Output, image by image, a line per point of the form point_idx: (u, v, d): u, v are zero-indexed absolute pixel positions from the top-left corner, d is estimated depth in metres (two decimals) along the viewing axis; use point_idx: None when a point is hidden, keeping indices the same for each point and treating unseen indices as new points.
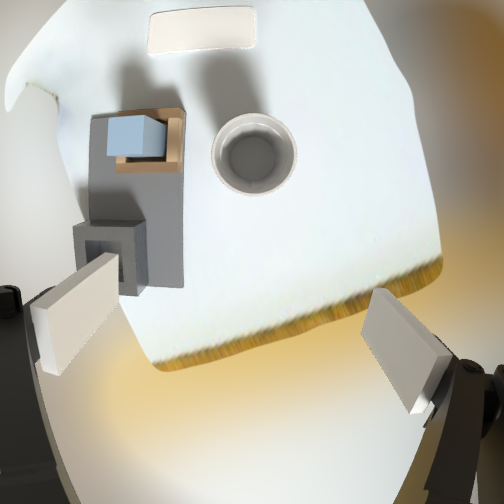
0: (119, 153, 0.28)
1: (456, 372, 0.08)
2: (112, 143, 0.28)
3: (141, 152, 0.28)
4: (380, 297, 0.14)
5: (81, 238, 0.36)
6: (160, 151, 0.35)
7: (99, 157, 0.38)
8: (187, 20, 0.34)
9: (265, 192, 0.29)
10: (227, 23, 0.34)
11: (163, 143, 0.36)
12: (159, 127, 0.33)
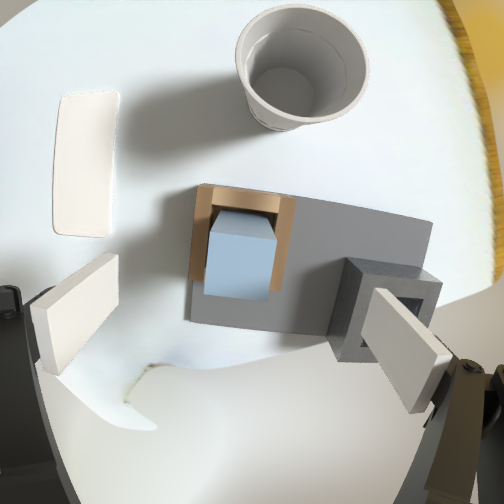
0: (268, 280, 0.19)
1: (456, 372, 0.08)
2: (248, 290, 0.19)
3: (274, 241, 0.19)
4: (380, 297, 0.14)
5: (356, 351, 0.27)
6: (262, 220, 0.25)
7: (247, 313, 0.31)
8: (68, 181, 0.28)
9: (364, 55, 0.15)
10: (80, 127, 0.26)
11: (248, 215, 0.26)
12: (225, 217, 0.24)
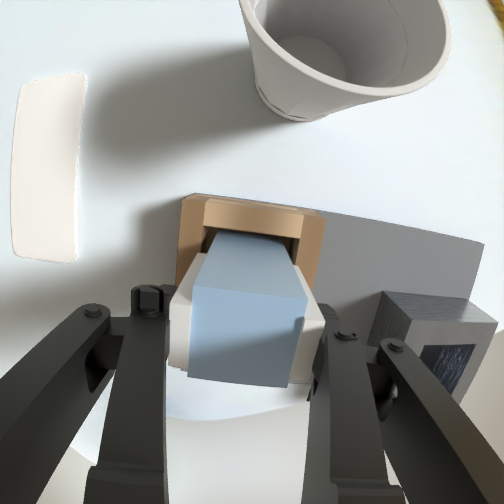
0: (290, 358, 0.11)
1: (328, 343, 0.09)
2: (258, 373, 0.12)
3: (303, 301, 0.11)
4: None
5: None
6: (277, 249, 0.17)
7: None
8: (26, 191, 0.20)
9: (440, 5, 0.07)
10: (39, 122, 0.19)
11: (256, 241, 0.18)
12: (222, 246, 0.16)
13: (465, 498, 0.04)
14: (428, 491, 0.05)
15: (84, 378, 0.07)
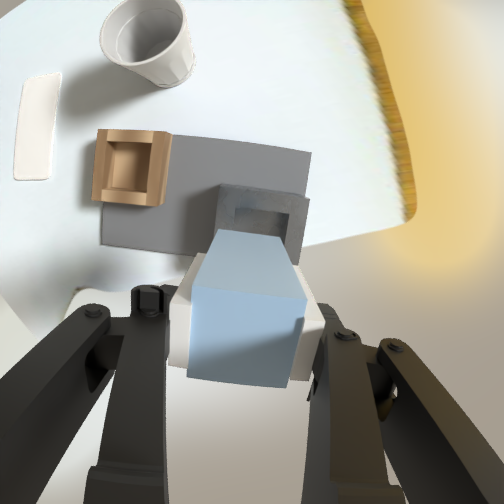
0: (289, 359, 0.11)
1: (328, 343, 0.09)
2: (257, 374, 0.12)
3: (302, 301, 0.11)
4: None
5: None
6: (277, 249, 0.17)
7: (144, 235, 0.36)
8: (25, 140, 0.32)
9: (183, 13, 0.20)
10: (35, 100, 0.31)
11: (255, 241, 0.18)
12: (222, 246, 0.16)
13: (465, 498, 0.04)
14: (428, 491, 0.05)
15: (84, 378, 0.07)
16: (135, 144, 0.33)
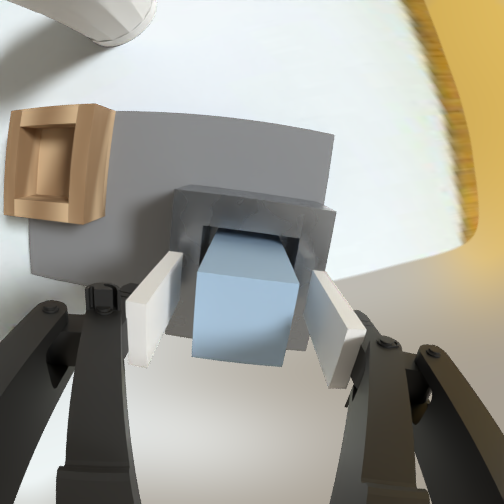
0: (284, 338, 0.13)
1: (370, 350, 0.09)
2: (256, 353, 0.13)
3: (295, 285, 0.12)
4: (315, 279, 0.16)
5: (190, 320, 0.19)
6: (273, 242, 0.18)
7: (80, 264, 0.23)
8: None
9: None
10: None
11: (254, 235, 0.20)
12: (223, 239, 0.18)
13: (485, 500, 0.03)
14: (452, 493, 0.05)
15: (46, 373, 0.07)
16: (64, 129, 0.19)
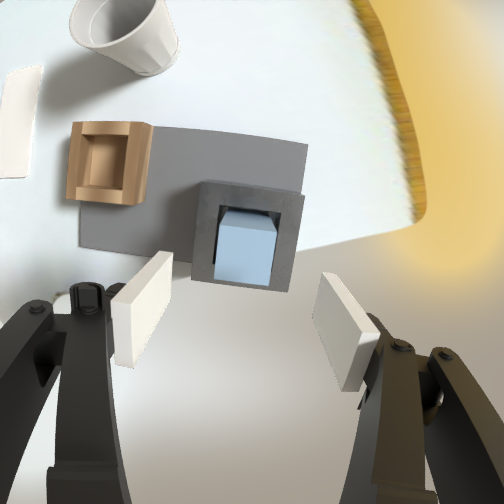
0: (269, 266, 0.22)
1: (384, 353, 0.09)
2: (252, 275, 0.23)
3: (274, 233, 0.22)
4: (325, 281, 0.16)
5: (209, 269, 0.28)
6: (265, 216, 0.28)
7: (123, 237, 0.32)
8: (5, 136, 0.29)
9: None
10: (16, 94, 0.28)
11: (252, 213, 0.29)
12: (232, 213, 0.27)
13: (492, 501, 0.03)
14: (459, 494, 0.05)
15: (34, 372, 0.07)
16: (113, 137, 0.29)
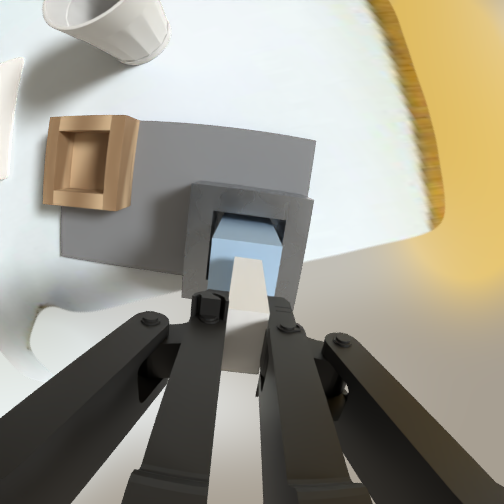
0: (273, 287, 0.18)
1: (271, 337, 0.09)
2: None
3: (279, 247, 0.18)
4: (247, 266, 0.16)
5: (202, 285, 0.24)
6: (266, 224, 0.24)
7: (107, 246, 0.28)
8: None
9: None
10: None
11: (252, 219, 0.25)
12: (228, 221, 0.23)
13: (437, 499, 0.04)
14: (395, 492, 0.05)
15: (135, 387, 0.08)
16: (95, 134, 0.25)
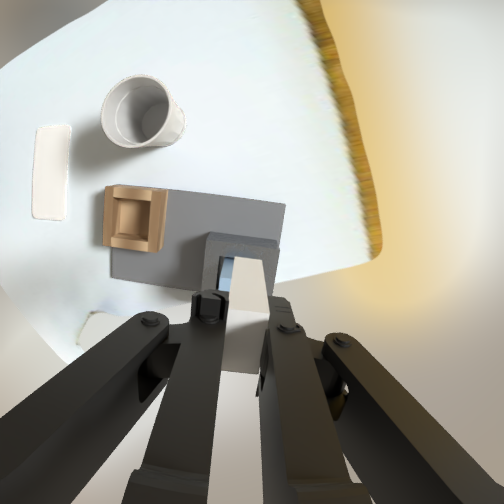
0: None
1: (271, 337, 0.09)
2: None
3: None
4: (247, 266, 0.16)
5: None
6: None
7: (147, 271, 0.44)
8: (41, 184, 0.41)
9: (169, 100, 0.28)
10: (48, 149, 0.39)
11: None
12: (228, 262, 0.39)
13: (437, 499, 0.04)
14: (395, 492, 0.05)
15: (135, 387, 0.08)
16: None
